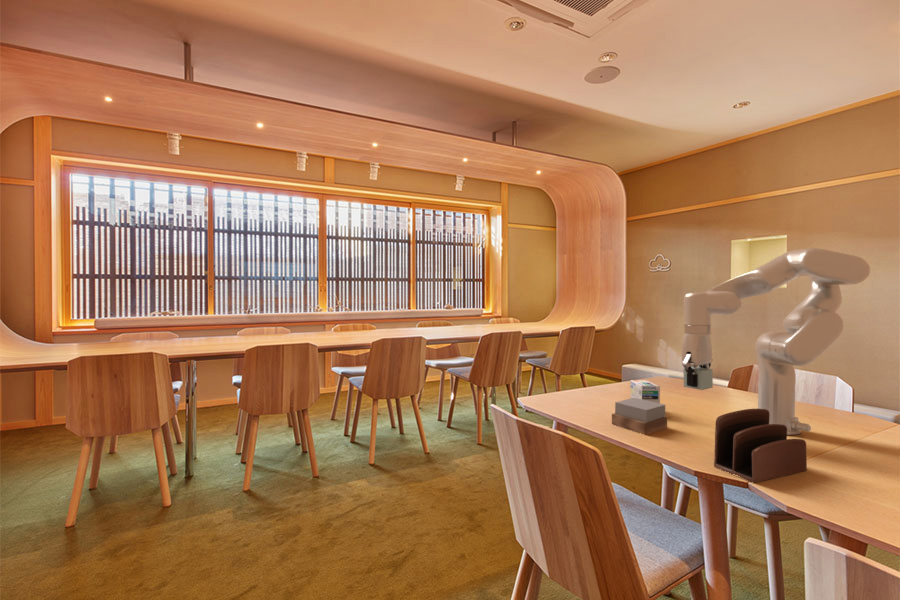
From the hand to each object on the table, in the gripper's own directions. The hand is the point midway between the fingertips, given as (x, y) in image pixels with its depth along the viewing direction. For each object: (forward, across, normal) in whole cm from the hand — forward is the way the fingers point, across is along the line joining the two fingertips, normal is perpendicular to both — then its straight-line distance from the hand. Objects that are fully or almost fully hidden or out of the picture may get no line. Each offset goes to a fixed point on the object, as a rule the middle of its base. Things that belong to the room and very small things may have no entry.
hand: (698, 384), depth 138 cm
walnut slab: (+14, +16, -10) cm, 24 cm away
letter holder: (+15, +20, +26) cm, 36 cm away
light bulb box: (+14, -1, -20) cm, 25 cm away
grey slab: (+10, +16, -10) cm, 21 cm away
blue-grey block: (+1, 0, 0) cm, 1 cm away
